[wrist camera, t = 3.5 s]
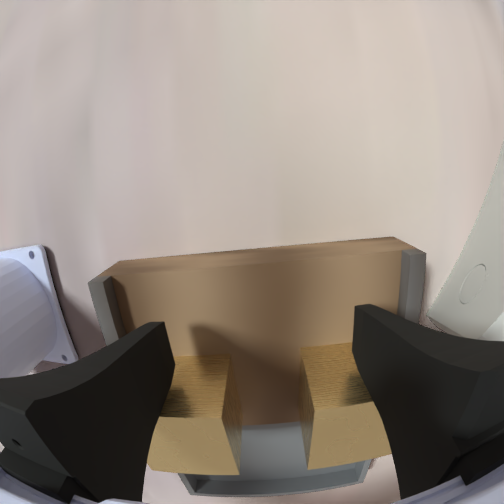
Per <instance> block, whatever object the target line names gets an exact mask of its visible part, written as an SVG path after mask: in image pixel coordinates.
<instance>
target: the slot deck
mask: <svg viewBox="0 0 504 504" xmlns="http://www.w3.org/2000/svg"><path fill="white" fill-rule="evenodd" d="M425 265H426V253H425V252H423V251H421V250H419V249H417V248H415V247H413V246H411V245H409V244H407V243H405V242H403V241H401V240H399V239H397V238H395V237H383V238H371V239H360V240H348V241H337V242H325V243H314V244H302V245H291V246H280V247H268V248H257V249H246V250H235V251H224V252H213V253H202V254H191V255H180V256H169V257H158V258H147V259H136V260H125V261H119V262H117V263H116V264H114V265H113V266H111V267H110V268H108V269H107V270H105V271H104V272H103V273H101V274H100V275H98V276H97V277H95V278H94V279H92V280H91V281H90V282H88V286H89V290H90V293H91V297H92V301H93V304H94V308H95V311H96V314H97V318H98V321H99V324H100V327H101V330H102V334H103V337H104V339H105V342H106V345H107V346H108V345H110V344H112V343H113V342H115V341H117V340H118V339H120V338H122V337H123V336H125V335H127V334H128V333H130V332H132V331H133V330H135V329H137V328H138V327H140V326H142V325H144V324H146V323H148V322H162V321H164V322H165V326H166V330H167V334H168V338H169V342H170V346H171V350H172V353H173V356H198V355H217V354H230V355H231V360H232V365H233V370H234V375H235V380H236V384H237V389H238V394H239V399H240V403H241V408H242V412H243V421H242V426H245V425H264V424H278V423H289V422H298V421H300V418H299V412H298V401H299V374H300V348H301V347H312V346H322V345H331V344H340V343H348V342H352V341H353V326H354V307H355V306H357V305H364V304H372V305H375V306H378V307H380V308H383V309H385V310H387V311H389V312H391V313H394V314H396V315H398V316H400V317H402V318H405V319H407V320H409V321H412V322H414V323H417V324H419V317H420V311H421V303H422V295H423V287H424V277H425Z"/></svg>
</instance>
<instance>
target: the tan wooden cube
mask: <svg viewBox="0 0 504 504" xmlns="http://www.w3.org/2000/svg"><path fill="white" fill-rule="evenodd" d="M298 412H299V418H300V424H301V431H302V437H303V444H304V450H305V457H306V464H307V470H311V469H319V468H326V467H333V466H339V465H344V464H350V463H355V462H360V461H364V460H369V459H373V458H377V457H381V456H385V455H389V454H392V452H391V448H390V445H389V441H388V438H387V434H386V431H385V428H384V425H383V422H382V419H381V417H380V415H379V412H378V410H377V408H376V406H375V404H374V402H373V400H372V398H371V396H370V394H369V392H368V390H367V388H366V386H365V384H364V382H363V380H362V378H361V376H360V374H359V372H358V369H357V366H356V363H355V360H354V357H353V353H352V342H348V343H340V344H331V345H322V346H312V347H301V348H300V374H299V401H298Z"/></svg>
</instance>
